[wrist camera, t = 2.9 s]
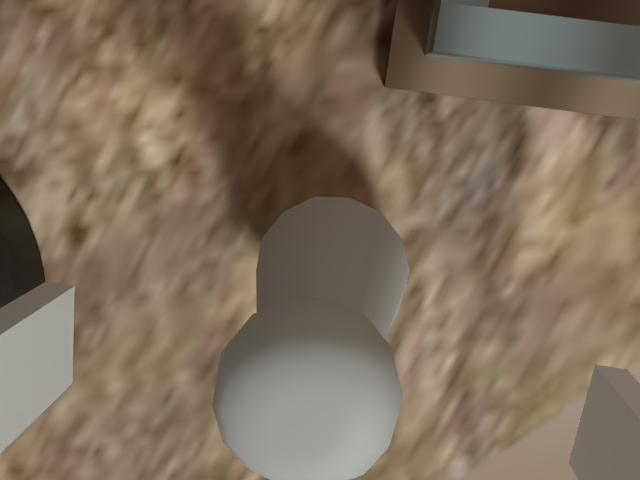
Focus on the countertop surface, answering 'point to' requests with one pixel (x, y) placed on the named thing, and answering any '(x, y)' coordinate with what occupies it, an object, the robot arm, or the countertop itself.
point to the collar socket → (521, 52)
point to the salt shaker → (316, 346)
